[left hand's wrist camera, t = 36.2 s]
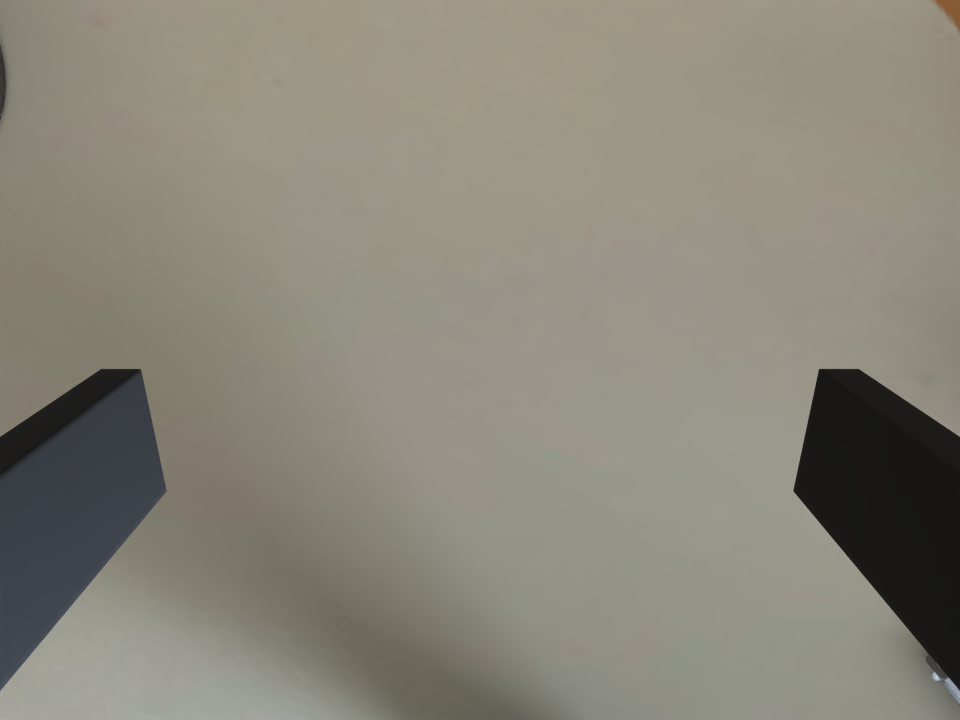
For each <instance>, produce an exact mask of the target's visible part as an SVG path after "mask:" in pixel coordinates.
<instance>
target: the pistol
mask: <svg viewBox="0 0 960 720" xmlns="http://www.w3.org/2000/svg"><path fill="white" fill-rule="evenodd" d="M926 661H927V663H928V664H929V666H930V667H931V668H932V670H931V672H930V673H931V675H932V677H933V679H934V680H935V681H939V680H941V681H942V683H943V684H944V685H945V687H946V688H947V689H948V691H949V692H950V693H951V694H952V696H953V697H954V698H955V700H956V701H957V702H958V704H959V705H960V691H959V689H958V688H957V687H956V686H955V685H954V683H953V682H952V681H951V680H950V679H949V677H948V676H947V675H946V674H945V673H944V671H943V670H942V669H941V668H940V667H939V665H938V664H937V663H936V662H935V661H934V659H933V658H932V657H931V656H930V655H929V656H927V657H926Z"/></svg>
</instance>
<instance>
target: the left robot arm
mask: <svg viewBox="0 0 960 720" xmlns="http://www.w3.org/2000/svg"><path fill="white" fill-rule="evenodd" d="M5 87H6V82H5V68H4V61H3V56H2V51H1V47H0V118H1V114H2V111H3V106H4V100H5ZM165 492H166V486H165V481H164V476H163V472H162V467H161V462H160V457H159V453H158V448H157V443H156V438H155V434H154V429H153V424H152V420H151V415H150V410H149V405H148V401H147V396H146V391H145V386H144V382H143V377H142V372H141V369H101V370H99V371H98V372H96V373H95V374H93V375H92V376H90V377H89V378H87V379H86V380H84V381H83V382H81V383H80V384H78V385H77V386H75V387H74V388H72V389H71V390H69V391H68V392H66V393H65V394H63V395H62V396H61V397H59V398H58V399H56V400H55V401H53V402H52V403H50V404H49V405H47V406H46V407H44V408H43V409H41V410H40V411H38V412H37V413H35V414H34V415H32V416H31V417H29V418H28V419H26V420H25V421H23V422H22V423H20V424H19V425H17V426H16V427H14V428H13V429H11V430H10V431H8V432H7V433H5V434H4V435H2V436H1V437H0V691H1V689H2V688H3V687H4V686H5V685H6V683H7V682H8V681H9V680H10V679H11V677H12V676H13V675H14V674H15V673H16V671H17V670H18V669H19V668H20V667H21V665H22V664H23V663H24V662H25V661H26V659H27V658H28V657H29V656H30V655H31V653H32V652H33V651H34V650H35V649H36V647H37V646H38V645H39V644H40V643H41V641H42V640H43V639H44V638H45V637H46V635H47V634H48V633H49V632H50V631H51V629H52V628H53V627H54V626H55V625H56V623H57V622H58V621H59V620H60V618H61V617H62V616H63V615H64V614H65V612H66V611H67V610H68V609H69V608H70V606H71V605H72V604H73V603H74V602H75V600H76V599H77V598H78V597H79V596H80V594H81V593H82V592H83V591H84V590H85V588H86V587H87V586H88V585H89V584H90V582H91V581H92V580H93V579H94V578H95V576H96V575H97V574H98V573H99V572H100V570H101V569H102V568H103V567H104V566H105V564H106V563H107V562H108V561H109V560H110V558H111V557H112V556H113V555H114V554H115V552H116V551H117V550H118V549H119V548H120V546H121V545H122V544H123V543H124V542H125V540H126V539H127V538H128V537H129V536H130V534H131V533H132V532H133V531H134V530H135V528H136V527H137V526H138V525H139V524H140V522H141V521H142V520H143V519H144V518H145V516H146V515H147V514H148V513H149V512H150V510H151V509H152V508H153V507H154V506H155V504H156V503H157V502H158V501H159V500H160V498H161V497H162V496H163V495H164V494H165ZM794 492H795V494H796V495H797V496H798V497H799V498H800V500H801V501H802V502H803V503H804V504H805V506H806V507H807V508H808V509H809V510H810V512H811V513H812V514H813V515H814V516H815V518H816V519H817V520H818V521H819V522H820V524H821V525H822V526H823V527H824V528H825V530H826V531H827V532H828V533H829V534H830V536H831V537H832V538H833V539H834V540H835V542H836V543H837V544H838V545H839V546H840V548H841V549H842V550H843V551H844V552H845V554H846V555H847V556H848V557H849V558H850V560H851V561H852V562H853V563H854V564H855V566H856V567H857V568H858V569H859V570H860V572H861V573H862V574H863V575H864V576H865V578H866V579H867V580H868V581H869V582H870V584H871V585H872V586H873V587H874V588H875V590H876V591H877V592H878V593H879V594H880V596H881V597H882V598H883V599H884V600H885V602H886V603H887V604H888V605H889V606H890V608H891V609H892V610H893V611H894V612H895V614H896V615H897V616H898V617H899V619H900V620H901V621H902V622H903V623H904V625H905V626H906V627H907V628H908V629H909V631H910V632H911V633H912V634H913V635H914V637H915V638H916V639H917V640H918V641H919V643H920V644H921V645H922V646H923V647H924V649H925V650H926V651H927V652H928V653H929V655H930V656H931V657H932V658H933V659H934V661H935V662H936V663H937V664H938V665H939V667H940V668H941V669H942V670H943V671H944V673H945V674H946V675H947V676H948V677H949V679H950V680H951V681H952V682H953V683H954V685H955V686H956V687H957V688H958V689H959V691H960V437H959V436H958V435H956V434H955V433H953V432H952V431H950V430H949V429H947V428H946V427H944V426H943V425H941V424H940V423H938V422H937V421H935V420H934V419H932V418H931V417H929V416H928V415H926V414H925V413H923V412H922V411H920V410H919V409H917V408H916V407H914V406H913V405H911V404H910V403H908V402H907V401H905V400H904V399H902V398H901V397H899V396H898V395H897V394H895V393H894V392H892V391H891V390H889V389H888V388H886V387H885V386H883V385H882V384H880V383H879V382H877V381H876V380H874V379H873V378H871V377H870V376H868V375H867V374H865V373H864V372H862V371H861V370H859V369H819V372H818V377H817V382H816V386H815V391H814V396H813V401H812V405H811V410H810V415H809V420H808V424H807V429H806V434H805V438H804V443H803V448H802V453H801V457H800V462H799V467H798V472H797V476H796V481H795V486H794Z"/></svg>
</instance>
